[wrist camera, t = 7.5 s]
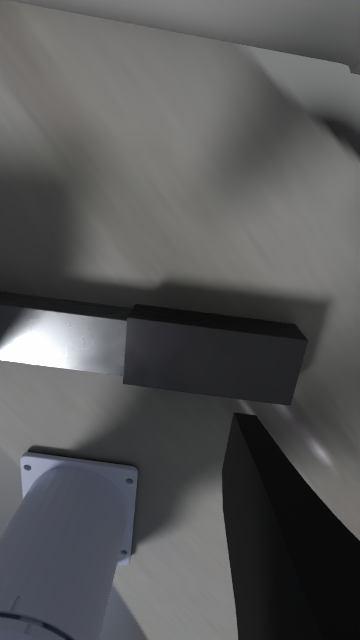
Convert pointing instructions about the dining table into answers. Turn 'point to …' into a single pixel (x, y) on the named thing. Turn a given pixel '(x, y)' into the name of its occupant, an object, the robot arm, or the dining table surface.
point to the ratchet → (156, 346)
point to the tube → (243, 22)
